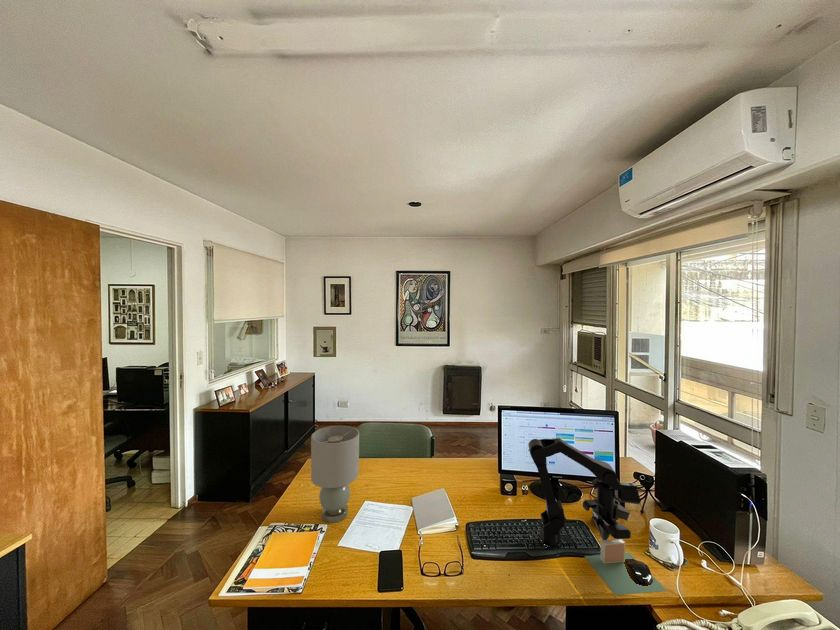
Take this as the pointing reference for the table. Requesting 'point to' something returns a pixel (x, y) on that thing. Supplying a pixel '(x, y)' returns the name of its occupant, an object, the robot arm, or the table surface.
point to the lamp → (334, 468)
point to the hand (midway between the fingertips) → (604, 540)
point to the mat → (620, 577)
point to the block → (612, 551)
